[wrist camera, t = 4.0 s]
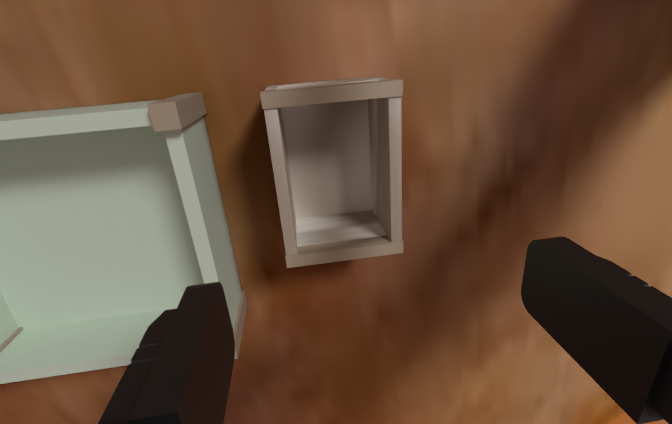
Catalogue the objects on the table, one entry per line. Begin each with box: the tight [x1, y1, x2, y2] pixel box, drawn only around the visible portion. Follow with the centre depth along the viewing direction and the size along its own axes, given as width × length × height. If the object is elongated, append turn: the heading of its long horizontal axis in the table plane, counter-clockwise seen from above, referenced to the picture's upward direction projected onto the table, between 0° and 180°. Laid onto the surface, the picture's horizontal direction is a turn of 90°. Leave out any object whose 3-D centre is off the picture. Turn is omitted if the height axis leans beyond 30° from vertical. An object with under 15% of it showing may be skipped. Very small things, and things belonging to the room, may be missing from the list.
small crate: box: [260, 77, 403, 268], centre depth 21 cm, size 6×9×6 cm
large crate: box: [0, 92, 247, 384], centre depth 21 cm, size 16×15×5 cm
